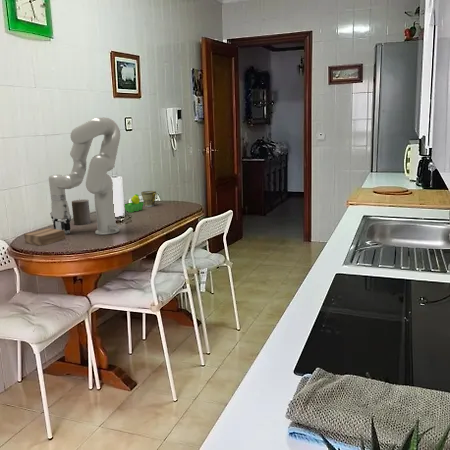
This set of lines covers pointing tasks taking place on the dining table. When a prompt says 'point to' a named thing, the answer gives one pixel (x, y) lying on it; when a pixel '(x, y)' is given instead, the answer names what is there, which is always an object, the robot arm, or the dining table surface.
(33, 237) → the walnut block
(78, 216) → the pillar candle
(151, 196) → the ceramic cup
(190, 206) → the dining table surface
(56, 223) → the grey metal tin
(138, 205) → the fruit basket
